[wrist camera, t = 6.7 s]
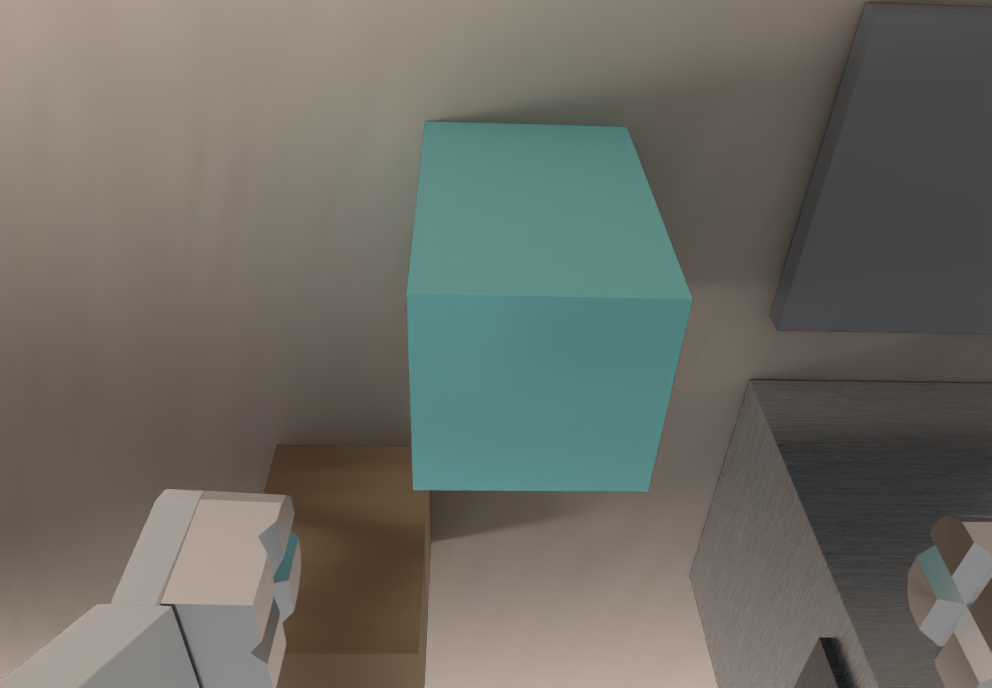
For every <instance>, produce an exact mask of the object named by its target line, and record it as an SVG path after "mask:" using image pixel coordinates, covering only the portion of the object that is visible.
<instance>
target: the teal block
mask: <svg viewBox="0 0 992 688" xmlns="http://www.w3.org/2000/svg"><path fill="white" fill-rule="evenodd" d="M406 299H407V328H408V357H409V387H410V416H411V445H412V475H413V490H470V491H614V492H648V491H649V486H650V482H651V478H652V473H653V469H654V465H655V460H656V456H657V452H658V447H659V443H660V439H661V434H662V430H663V426H664V421H665V417H666V413H667V408H668V404H669V400H670V395H671V391H672V387H673V382H674V378H675V374H676V369H677V365H678V361H679V356H680V352H681V348H682V343H683V339H684V335H685V330H686V326H687V322H688V317H689V313H690V309H691V304H692V300H693V299H692V296H691V293H690V291H689V288H688V285H687V283H686V280H685V278H684V275H683V272H682V270H681V267H680V264H679V262H678V259H677V257H676V254H675V251H674V249H673V246H672V244H671V241H670V238H669V236H668V233H667V230H666V228H665V225H664V223H663V220H662V217H661V215H660V212H659V209H658V207H657V204H656V202H655V199H654V196H653V194H652V191H651V188H650V186H649V183H648V181H647V178H646V175H645V173H644V170H643V168H642V165H641V162H640V160H639V157H638V154H637V152H636V149H635V147H634V144H633V141H632V139H631V136H630V133H629V131H628V128H627V127H618V126H582V125H546V124H510V123H474V122H438V121H425V125H424V134H423V143H422V153H421V162H420V171H419V181H418V190H417V199H416V209H415V218H414V227H413V236H412V246H411V255H410V264H409V274H408V283H407V292H406Z"/></svg>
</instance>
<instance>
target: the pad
mask: <svg viewBox="0 0 992 688" xmlns="http://www.w3.org/2000/svg"><path fill="white" fill-rule="evenodd" d="M770 317H771V319H772V321H773V323H774V325H775V327H776V329H777V331H829V332H889V333H949V334H992V7H974V6H946V5H918V4H890V3H865V6H864V9H863V12H862V16H861V19H860V22H859V25H858V29H857V32H856V35H855V38H854V42H853V45H852V48H851V51H850V55H849V58H848V61H847V64H846V68H845V71H844V74H843V77H842V81H841V84H840V87H839V91H838V94H837V97H836V100H835V104H834V107H833V110H832V113H831V117H830V120H829V123H828V126H827V130H826V133H825V136H824V139H823V143H822V146H821V149H820V152H819V156H818V159H817V162H816V165H815V169H814V172H813V175H812V178H811V182H810V185H809V188H808V192H807V195H806V198H805V201H804V205H803V208H802V211H801V214H800V218H799V221H798V224H797V227H796V231H795V234H794V237H793V240H792V244H791V247H790V250H789V253H788V257H787V260H786V263H785V266H784V270H783V273H782V276H781V279H780V283H779V286H778V289H777V293H776V296H775V299H774V302H773V306H772V309H771V312H770Z"/></svg>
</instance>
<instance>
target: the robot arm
mask: <svg viewBox="0 0 992 688" xmlns="http://www.w3.org/2000/svg"><path fill="white" fill-rule="evenodd" d="M294 515H295V513H294V508H293V504H292V499H291V496H288V495H277V494H259V493H242V492H224V491H200V490H179V489H165V490H164V491H163V492H162V494H161V495H160V496H159V497H158V498H157V499H156V500H155V503H154V505H153V507H152V509H151V512H150V514H149V516H148V518H147V521H146V523H145V525H144V528H143V530H142V532H141V534H140V537H139V539H138V541H137V543H136V546H135V548H134V550H133V552H132V555H131V557H130V559H129V561H128V564H127V566H126V568H125V570H124V573H123V575H122V577H121V579H120V582H119V584H118V586H117V589H116V591H115V593H114V595H113V598H112V600H111V602H110V604H96V605H95V606H94V607H92V608H91V609H90V610H89V611H87V612H86V613H85V614H84V615H82V616H81V617H80V618H79V619H77V620H76V621H75V622H74V623H72V624H71V625H70V626H69V627H67V628H66V629H65V630H64V631H62V632H61V633H60V634H59V635H57V636H56V637H55V638H54V639H52V640H51V641H50V642H49V643H47V644H46V645H45V646H44V647H42V648H41V649H40V650H39V651H37V652H36V653H35V654H34V655H32V656H31V657H30V658H29V659H27V660H26V661H25V662H24V663H22V664H21V665H20V666H19V667H17V668H16V669H15V670H14V671H12V672H11V673H10V674H9V675H7V676H6V677H5V678H4V679H2V680H1V681H0V688H276V686H277V682H278V678H279V674H280V670H281V665H282V661H283V657H284V653H285V648H286V639H285V633H284V628H283V623H282V622H283V621H285V620H286V619H287V618H288V617H289V616H290V615H291V614H292V613H293V612H294V609H295V605H296V600H297V595H298V591H299V581H300V572H301V549H300V543H299V537H298V536H297V535H295V534H294V533H293V532H292V531H291V527H292V523H293V519H294ZM930 535H931V538H932V540H933V542H934V544H935V545H934V546H933V547H931V548H929V549H928V550H926V551H924V552H922V553H921V554H919V555H917V556H916V558H915V560H914V562H913V564H912V566H911V568H910V570H909V572H908V583H907V596H908V600H909V605H910V609H911V612H912V615H913V617H914V619H915V621H916V624H917V626H918V628H919V630H921V631H922V632H923V633H924V634H925V635H926V636H928V637H929V638H930V639H931V640H932V641H934V642H935V643H936V644H937V645H938V649H937V652H936V656H935V659H934V663H935V666H936V668H937V670H938V672H939V674H940V676H941V678H942V681H943V683H944V685H945V687H946V688H992V515H946V516H944V517H943V518H941V519H939V520H938V521H937V522H936V524H935V525H934V527H933V529H932V530H931V532H930Z"/></svg>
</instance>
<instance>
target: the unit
mask: <svg viewBox="0 0 992 688" xmlns="http://www.w3.org/2000/svg"><path fill="white" fill-rule="evenodd" d="M946 515H992V383H928V382H856V381H783V380H749V384H748V387H747V390H746V394H745V397H744V400H743V403H742V407H741V410H740V413H739V416H738V420H737V423H736V426H735V429H734V433H733V436H732V439H731V442H730V446H729V449H728V452H727V455H726V459H725V462H724V465H723V468H722V472H721V475H720V478H719V482H718V485H717V488H716V491H715V495H714V498H713V501H712V504H711V508H710V511H709V514H708V517H707V521H706V524H705V527H704V530H703V534H702V537H701V540H700V543H699V547H698V550H697V553H696V556H695V560H694V563H693V566H692V569H691V573H690V580H691V583H692V587H693V591H694V595H695V599H696V603H697V607H698V611H699V615H700V619H701V623H702V627H703V630H704V634H705V638H706V642H707V646H708V650H709V654H710V658H711V662H712V666H713V670H714V674H715V678H716V681H717V685H718V688H946V687H945V685H944V683H943V681H942V678H941V676H940V674H939V672H938V670H937V668H936V666H935V663H934V659H935V656H936V652H937V649H938V645H937V644H936V643H935V642H934V641H932V640H931V639H930V638H929V637H928V636H926V635H925V634H924V633H923V632H922V631H921V630H919V628H918V626H917V624H916V621H915V619H914V617H913V615H912V612H911V609H910V605H909V600H908V596H907V583H908V572H909V570H910V568H911V566H912V564H913V562H914V560H915V558H916V556H917V555H919V554H921V553H922V552H924V551H926V550H928V549H929V548H931V547H933V546H934V545H935V544H934V542H933V540H932V538H931V535H930V532H931V530H932V529H933V527H934V525H935V524H936V522H937V521H938V520H939V519H941V518H943V517H944V516H946Z"/></svg>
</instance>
